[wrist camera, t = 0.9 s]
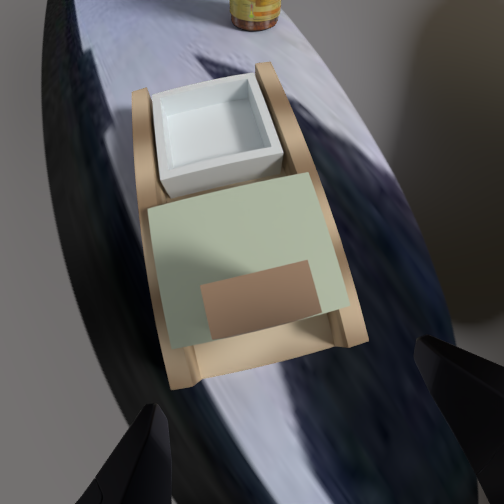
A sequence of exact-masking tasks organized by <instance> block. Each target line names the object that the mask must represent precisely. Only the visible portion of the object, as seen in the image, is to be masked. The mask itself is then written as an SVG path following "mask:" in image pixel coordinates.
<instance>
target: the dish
mask: <svg viewBox="0 0 504 504" xmlns="http://www.w3.org/2000/svg"><path fill="white" fill-rule="evenodd" d="M152 102H153V115H154V126H155V137H156V147H157V156H158V165H159V173H160V181H161V182H162V184H163V186H164V188H165V189H166V191H167V193H168V195H169V196H170V198H171V199H172V198H176V197H180V196H184V195H188V194H192V193H196V192H200V191H204V190H209V189H213V188H217V187H221V186H226V185H230V184H235V183H239V182H244V181H248V180H253V179H258V178H262V177H267V176H272V175H277V174H280V172H281V166H282V159H283V150H282V147H281V144H280V141H279V138H278V136H277V133H276V130H275V127H274V125H273V122H272V119H271V116H270V114H269V111H268V108H267V106H266V103H265V100H264V98H263V95H262V93H261V90H260V87H259V85H258V82H257V80H256V77H255V75H254V73H248V74H242V75H236V76H230V77H225V78H220V79H215V80H210V81H205V82H200V83H196V84H192V85H187V86H183V87H179V88H175V89H171V90H168V91H164V92H160V93H157V94H153V95H152Z"/></svg>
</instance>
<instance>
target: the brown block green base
mask: <svg viewBox="0 0 504 504" xmlns="http://www.w3.org/2000/svg"><path fill="white" fill-rule="evenodd" d="M148 218H149V225H150V233H151V240H152V247H153V253H154V260H155V266H156V272H157V278H158V284H159V289H160V295H161V300H162V306H163V311H164V316H165V321H166V326H167V330H168V335H169V340H170V344H171V349H177V348H182V347H187V346H192V345H197V344H202V343H207V342H212V341H216V340H221V339H225V338H230V337H234V336H239V335H243V334H247V333H251V332H256V331H260V330H264V329H268V328H272V327H276V326H280V325H284V324H288V323H291V322H295V321H299V320H303V319H306V318H310V317H314V316H317V315H321V314H324V313H328V312H331V311H335V310H338V309H341V308H345V307H348V306H351V305H350V302H349V298H348V295H347V291H346V287H345V284H344V280H343V277H342V273H341V270H340V267H339V263H338V260H337V257H336V253H335V250H334V247H333V244H332V241H331V237H330V234H329V231H328V228H327V225H326V222H325V219H324V216H323V213H322V210H321V207H320V204H319V201H318V198H317V195H316V192H315V189H314V186H313V184H312V181H311V178H310V175H309V172H306V173H301V174H296V175H290V176H285V177H280V178H275V179H270V180H266V181H261V182H256V183H251V184H247V185H242V186H238V187H233V188H229V189H224V190H220V191H216V192H212V193H207V194H203V195H199V196H195V197H191V198H187V199H183V200H179V201H175V202H171V203H167V204H164V205H160V206H156V207H152V208H149V209H148Z"/></svg>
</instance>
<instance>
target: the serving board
mask: <svg viewBox="0 0 504 504" xmlns="http://www.w3.org/2000/svg"><path fill="white" fill-rule="evenodd" d="M255 77H256V80H257V82H258V85H259V87H260V90H261V93H262V95H263V98H264V100H265V103H266V106H267V108H268V111H269V114H270V116H271V119H272V122H273V125H274V127H275V130H276V133H277V136H278V138H279V141H280V144H281V147H282V150H283V159H282V166H281V172H280V174H277V175H272V176H267V177H262V178H258V179H253V180H248V181H244V182H239V183H235V184H230V185H226V186H221V187H217V188H213V189H209V190H204V191H200V192H196V193H192V194H188V195H184V196H180V197H176V198H172V199H171V198H170V196H169V195H168V193H167V191H166V189H165V188H164V186H163V184H162V182H161V181H160V173H159V165H158V156H157V147H156V137H155V126H154V115H153V102H152V100H151V97H150V95H149V92H148V90H147V87H146V88H143V89H140V90H136V91H133V92H132V127H133V149H134V165H135V178H136V190H137V200H138V210H139V219H140V228H141V236H142V243H143V251H144V258H145V264H146V271H147V277H148V283H149V289H150V295H151V300H152V306H153V311H154V316H155V322H156V327H157V331H158V336H159V341H160V345H161V350H162V354H163V359H164V363H165V367H166V371H167V376H168V380H169V384H170V387H171V390H174V389H181V388H187V387H193V386H194V385H195V384H196V383H197V382H199V381H200V380H201V379H204V378H210V377H215V376H220V375H225V374H229V373H234V372H239V371H243V370H248V369H252V368H256V367H260V366H264V365H269V364H273V363H277V362H280V361H284V360H288V359H292V358H296V357H299V356H303V355H306V354H310V353H313V352H317V351H320V350H324V349H327V348H330V347H334V346H339V347H348V348H349V347H352V346H355V345H358V344H361V343H364V342H367V341H369V339H368V335H367V331H366V327H365V323H364V319H363V316H362V312H361V308H360V304H359V301H358V297H357V293H356V290H355V286H354V283H353V279H352V276H351V273H350V269H349V266H348V263H347V259H346V256H345V253H344V250H343V246H342V243H341V240H340V237H339V234H338V231H337V228H336V225H335V222H334V219H333V216H332V213H331V210H330V207H329V204H328V201H327V198H326V196H325V193H324V190H323V187H322V184H321V182H320V179H319V176H318V173H317V171H316V168H315V165H314V163H313V160H312V158H311V155H310V152H309V150H308V147H307V145H306V142H305V140H304V137H303V135H302V132H301V130H300V127H299V125H298V123H297V120H296V118H295V115H294V113H293V111H292V108H291V106H290V104H289V101H288V99H287V97H286V94H285V92H284V90H283V88H282V85H281V83H280V81H279V79H278V77H277V74H276V72H275V70H274V68H273V66H272V64H271V62H264V63H257V64H255ZM306 172H309V175H310V178H311V181H312V184H313V186H314V189H315V192H316V195H317V198H318V201H319V204H320V207H321V210H322V213H323V216H324V219H325V222H326V225H327V228H328V231H329V234H330V237H331V241H332V244H333V247H334V250H335V253H336V257H337V260H338V263H339V267H340V270H341V273H342V277H343V280H344V284H345V287H346V291H347V295H348V298H349V302H350V305H351V306H348V307H345V308H341V309H338V310H335V311H331V312H328V313H324V314H321V315H317V316H314V317H310V318H306V319H303V320H299V321H295V322H291V323H288V324H284V325H280V326H276V327H272V328H268V329H264V330H260V331H256V332H251V333H247V334H243V335H239V336H234V337H230V338H225V339H221V340H216V341H212V342H207V343H202V344H197V345H192V346H187V347H182V348H177V349H171V344H170V340H169V335H168V330H167V326H166V321H165V316H164V311H163V306H162V300H161V295H160V289H159V284H158V278H157V272H156V266H155V260H154V253H153V247H152V240H151V233H150V225H149V218H148V209H149V208H152V207H156V206H160V205H164V204H167V203H171V202H175V201H179V200H183V199H187V198H191V197H195V196H199V195H203V194H207V193H212V192H216V191H220V190H224V189H229V188H233V187H238V186H242V185H247V184H251V183H256V182H261V181H266V180H270V179H275V178H280V177H285V176H290V175H296V174H301V173H306Z"/></svg>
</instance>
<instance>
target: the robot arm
mask: <svg viewBox="0 0 504 504" xmlns="http://www.w3.org/2000/svg"><path fill="white" fill-rule="evenodd" d="M414 360H415V362H416V364H417V366H418V369H419V371H420V373H421V375H422V377H423V379H424V381H425V384H426V386H427V388H428V390H429V392H430V394H431V396H432V397H433V399H434V401H435V402H436V404H437V406H438V407H439V409H440V411H441V413H442V414H443V416H444V418H445V419H446V421H447V423H448V425H449V426H450V428H451V430H452V432H453V433H454V435H455V437H456V439H457V441H458V442H459V444H460V446H461V448H462V450H463V451H464V453H465V455H466V457H467V459H468V461H469V463H470V465H471V467H472V468H473V470H474V472H475V474H476V475H477V476H476V477H477V479H478V481H479V482H480V484H481V486H482V489H483V490H484V493H485V495H486V497H487V498H488V501H489V503H490V504H504V367H503V366H501V365H498V364H496V363H494V362H492V361H489V360H487V359H484V358H482V357H480V356H477V355H475V354H472V353H470V352H468V351H466V350H463V349H461V348H459V347H456V346H454V345H452V344H449V343H447V342H445V341H442V340H440V339H438V338H435V337H433V336H431V335H428V334H426V335H423V336H421V337H418V338H417V340H416V345H415V350H414ZM95 478H96V479H93V481H92V482H91V484H90V485H89V487H88V488H87V489H86V491H85V492H84V494H83V495H82V496H81V497H80V499H79V500H78V501H77V502H76V503H75V504H171V452H170V442H169V432H168V422H167V419H166V417H165V415H164V413H163V412H162V410H161V408H160V407H159V405H158V404H155V403H154V404H146V405H145V406H144V407H143V408H142V410H141V411H140V413H139V414H138V416H137V417H136V419H135V420H134V421H133V423H132V424H131V426H130V427H129V429H128V430H127V432H126V433H125V435H124V436H123V437H122V439H121V440H120V442H119V443H118V445H117V446H116V448H115V449H114V450H113V452H112V453H111V455H110V456H109V458H108V459H107V461H106V462H105V464H104V465H103V466H102V468H101V469H100V471H99V472H98V474H97V475H96V477H95Z"/></svg>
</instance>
